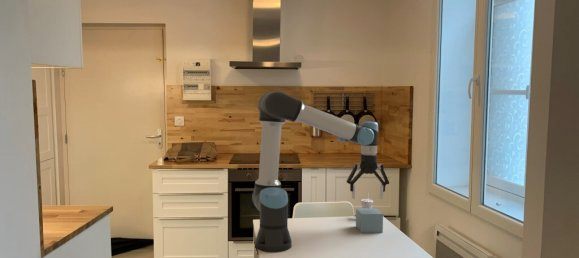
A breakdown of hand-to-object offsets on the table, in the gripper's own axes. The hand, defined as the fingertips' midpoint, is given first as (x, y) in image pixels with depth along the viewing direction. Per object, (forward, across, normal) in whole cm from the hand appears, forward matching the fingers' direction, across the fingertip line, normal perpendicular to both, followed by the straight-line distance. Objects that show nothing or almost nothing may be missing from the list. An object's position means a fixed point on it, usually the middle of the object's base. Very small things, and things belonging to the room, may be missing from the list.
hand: (367, 198), depth 196 cm
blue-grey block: (+14, +1, -2) cm, 15 cm away
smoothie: (+14, +5, +16) cm, 22 cm away
